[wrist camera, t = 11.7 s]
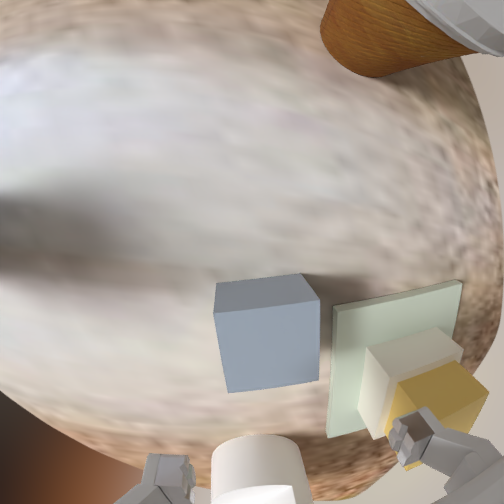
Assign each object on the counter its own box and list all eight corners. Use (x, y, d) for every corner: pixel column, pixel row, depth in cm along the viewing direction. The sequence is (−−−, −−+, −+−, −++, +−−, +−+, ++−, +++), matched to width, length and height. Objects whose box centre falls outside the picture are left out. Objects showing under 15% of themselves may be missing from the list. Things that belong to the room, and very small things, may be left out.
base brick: (366, 346, 20) (389, 377, 16) (436, 326, 20) (463, 349, 16) (357, 409, 21) (373, 440, 17) (421, 387, 22) (441, 412, 18)
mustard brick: (397, 382, 16) (429, 424, 12) (455, 359, 16) (489, 392, 12) (383, 431, 17) (406, 471, 13) (437, 409, 18) (463, 441, 13)
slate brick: (216, 282, 19) (213, 313, 14) (300, 272, 19) (320, 299, 15) (227, 352, 20) (228, 392, 16) (302, 342, 20) (318, 380, 16)
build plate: (332, 305, 19) (337, 312, 19) (455, 279, 20) (462, 283, 19) (325, 431, 23) (328, 438, 22) (427, 398, 24) (431, 403, 23)
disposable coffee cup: (422, 34, 15) (519, -16, 3) (400, 122, 17) (540, 96, 5) (318, -24, 13) (375, -121, 2) (277, 59, 15) (339, -69, 4)
